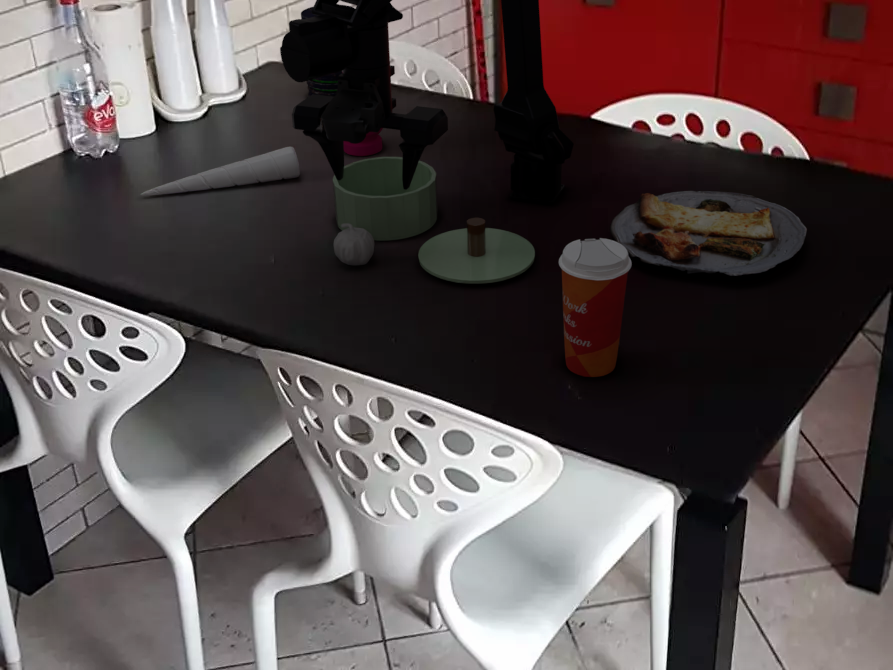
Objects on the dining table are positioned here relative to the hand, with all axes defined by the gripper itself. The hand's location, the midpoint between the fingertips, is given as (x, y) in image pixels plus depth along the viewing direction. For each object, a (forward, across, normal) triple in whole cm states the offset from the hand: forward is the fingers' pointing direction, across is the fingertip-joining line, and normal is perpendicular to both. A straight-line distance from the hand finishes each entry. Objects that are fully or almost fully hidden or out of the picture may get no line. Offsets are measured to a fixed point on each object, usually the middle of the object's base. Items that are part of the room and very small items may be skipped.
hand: (373, 183), depth 147 cm
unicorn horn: (+11, -32, +16) cm, 37 cm away
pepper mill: (+11, -19, +35) cm, 41 cm away
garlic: (+11, -3, -1) cm, 12 cm away
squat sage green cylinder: (+11, -4, +13) cm, 17 cm away
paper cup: (+11, +33, -15) cm, 38 cm away
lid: (+10, +12, +5) cm, 17 cm away
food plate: (+11, +39, +19) cm, 45 cm away
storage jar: (+11, -34, +58) cm, 68 cm away
